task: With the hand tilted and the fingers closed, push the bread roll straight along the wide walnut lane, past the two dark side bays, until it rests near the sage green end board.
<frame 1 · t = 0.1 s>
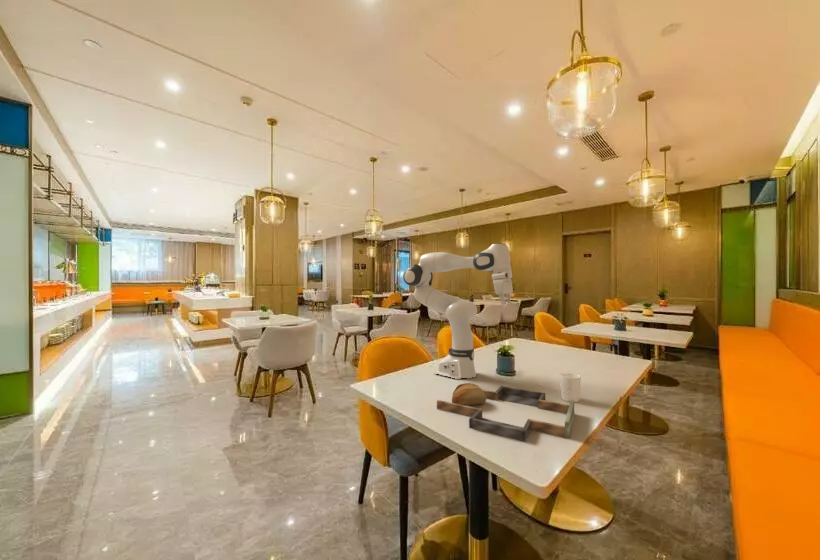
hand: (505, 303, 157), 39 cm above the table, tool pointing down, fingers open, 8 cm apart
bread roll: (468, 404, 129), on the table
white cup: (570, 399, 133), on the table
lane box: (503, 410, 122), on the table
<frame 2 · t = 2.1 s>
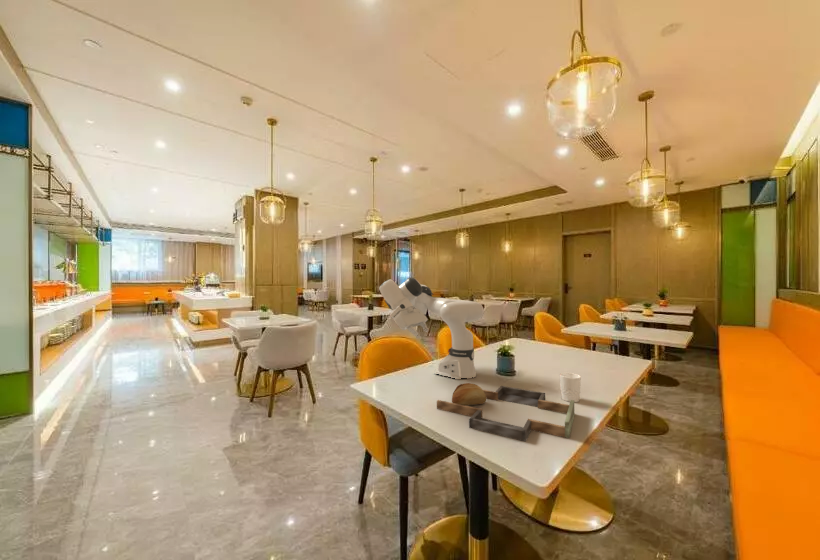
hand: (422, 333, 140), 27 cm above the table, tool tilted 40°, fingers open, 8 cm apart
nothing on the table moved.
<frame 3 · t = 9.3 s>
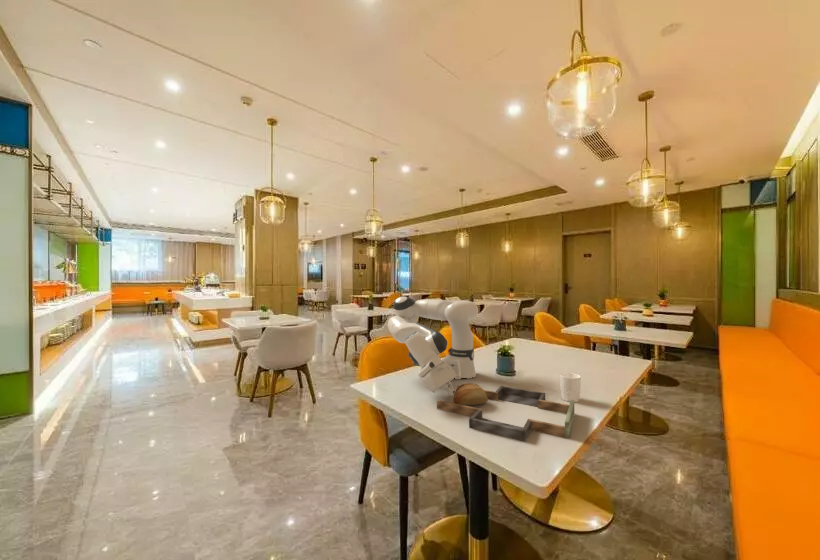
hand: (452, 393, 129), 4 cm above the table, tool tilted 40°, fingers closed
bread roll: (469, 404, 128), on the table, touching gripper
everything else where it was.
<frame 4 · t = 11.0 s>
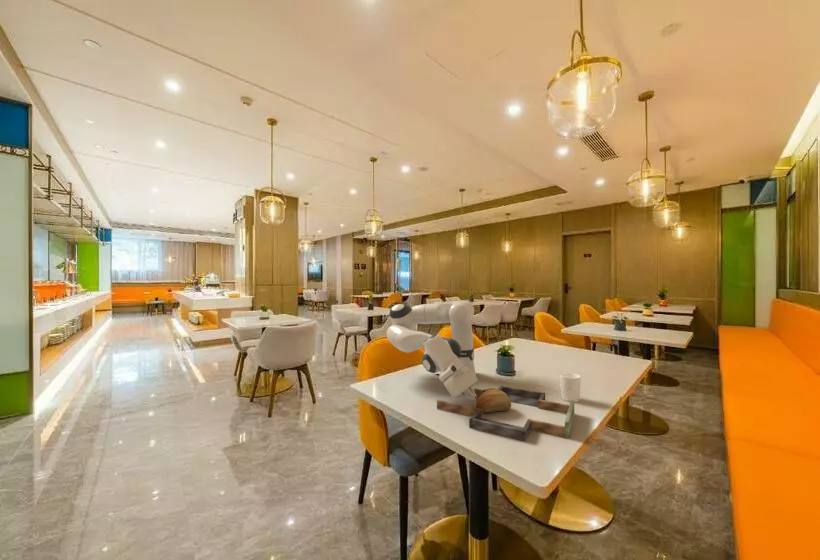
hand: (474, 399, 123), 4 cm above the table, tool tilted 40°, fingers closed
bread roll: (492, 411, 122), on the table, touching gripper
everything else where it was.
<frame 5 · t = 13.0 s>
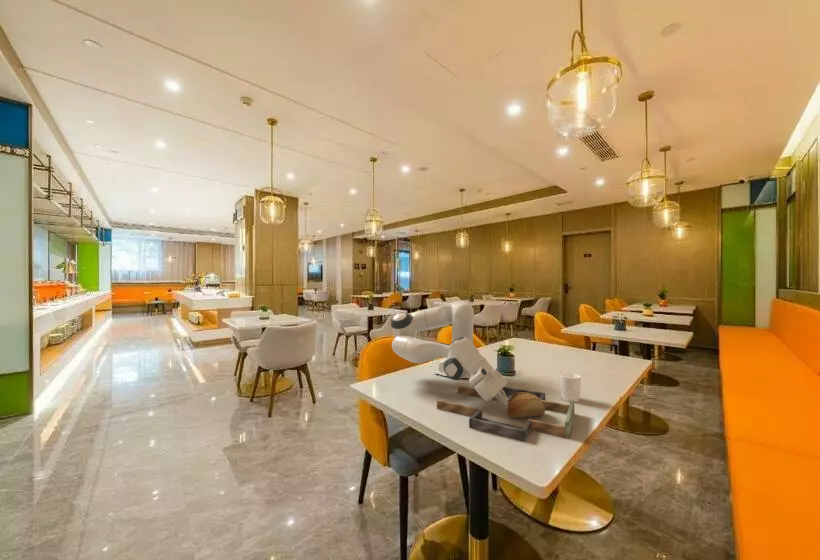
hand: (506, 402, 119), 4 cm above the table, tool tilted 45°, fingers closed, pressing on bread roll
bread roll: (525, 416, 117), on the table, touching gripper
everything else where it was.
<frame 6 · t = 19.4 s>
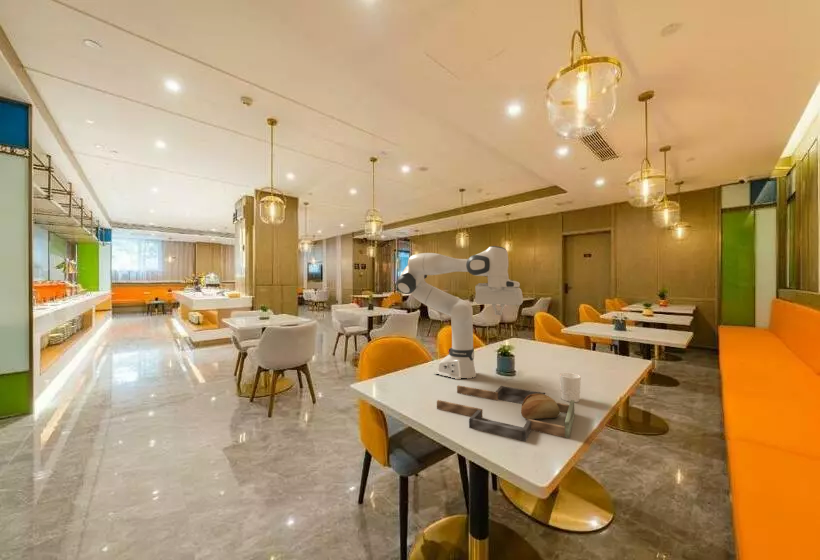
hand: (498, 314, 139), 35 cm above the table, tool pointing down, fingers closed
bread roll: (539, 417, 116), on the table
everything else where it was.
at the end: bread roll inside the target area on the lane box (3.9 cm from its centre), point 0.0 cm above the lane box's base; bread roll moved 26.9 cm from its start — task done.
